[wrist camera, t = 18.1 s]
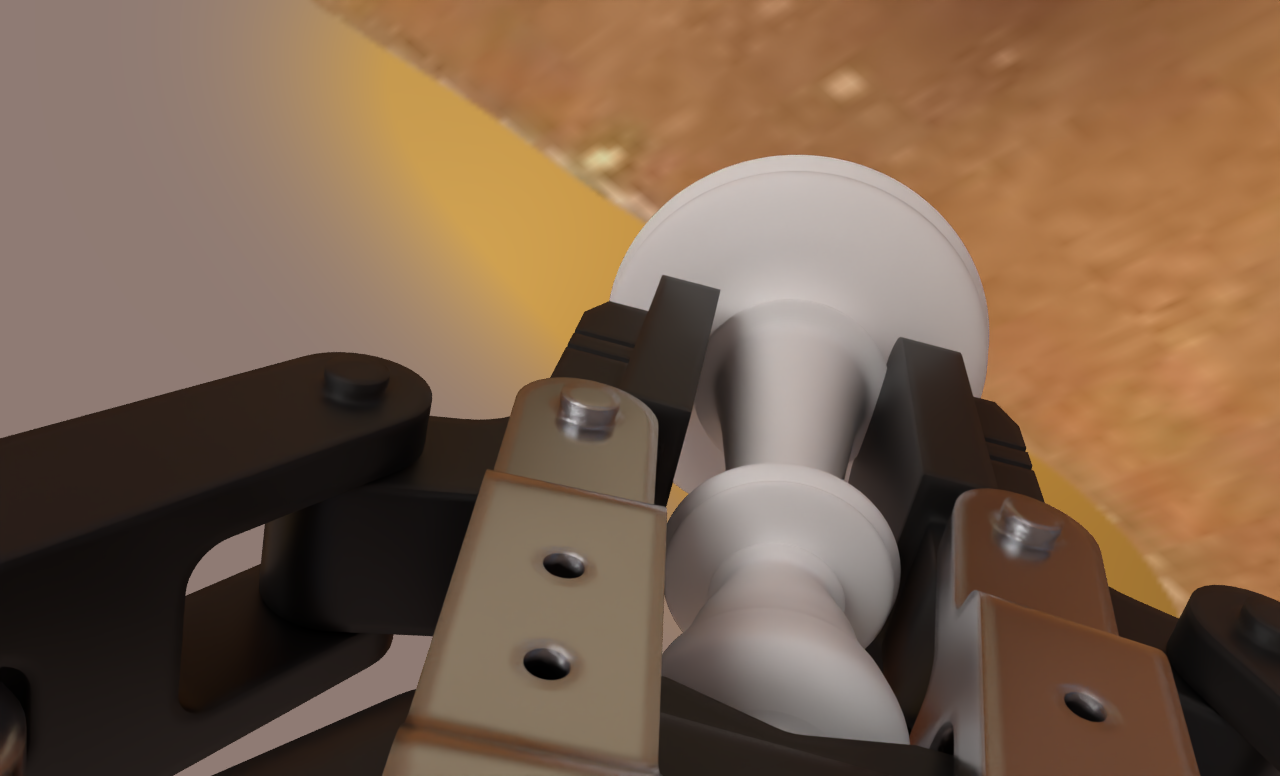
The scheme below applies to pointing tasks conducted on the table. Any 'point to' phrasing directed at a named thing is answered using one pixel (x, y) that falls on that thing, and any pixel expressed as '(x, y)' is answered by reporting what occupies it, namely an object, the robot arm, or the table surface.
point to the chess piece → (796, 427)
